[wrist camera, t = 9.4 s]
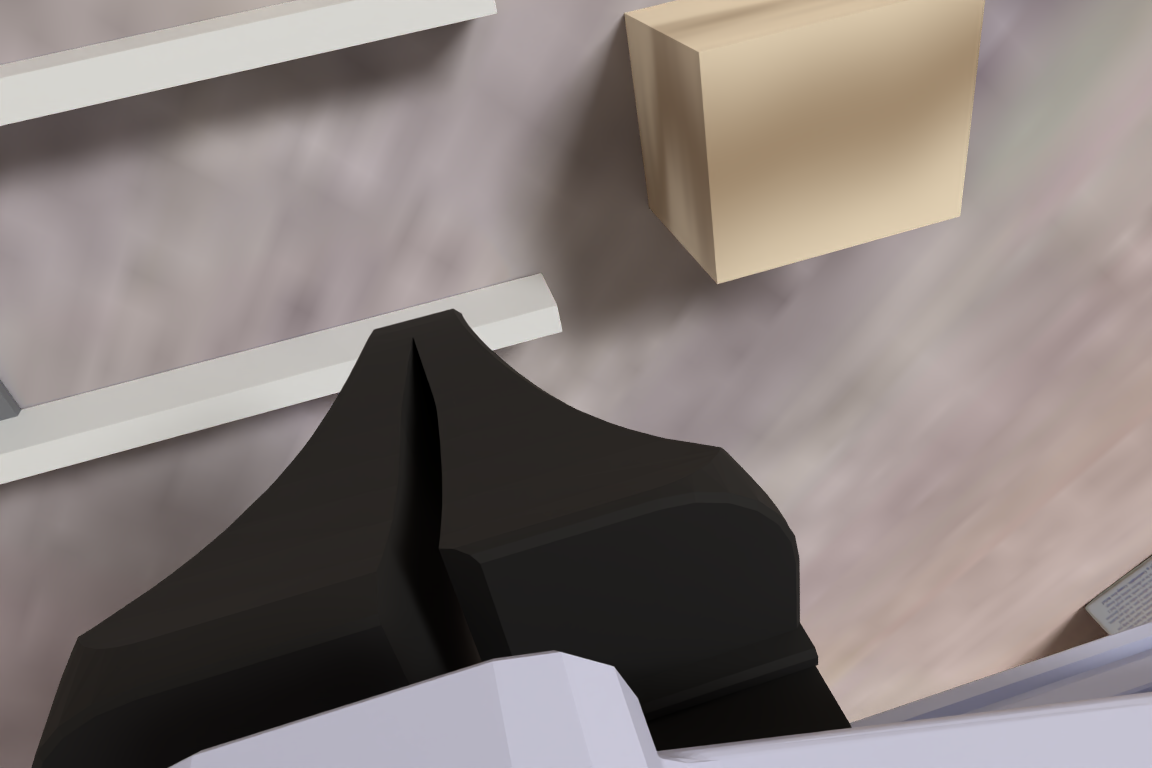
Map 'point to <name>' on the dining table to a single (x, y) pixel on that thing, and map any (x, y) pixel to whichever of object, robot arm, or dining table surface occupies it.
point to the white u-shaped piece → (265, 374)
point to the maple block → (801, 122)
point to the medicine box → (1125, 601)
